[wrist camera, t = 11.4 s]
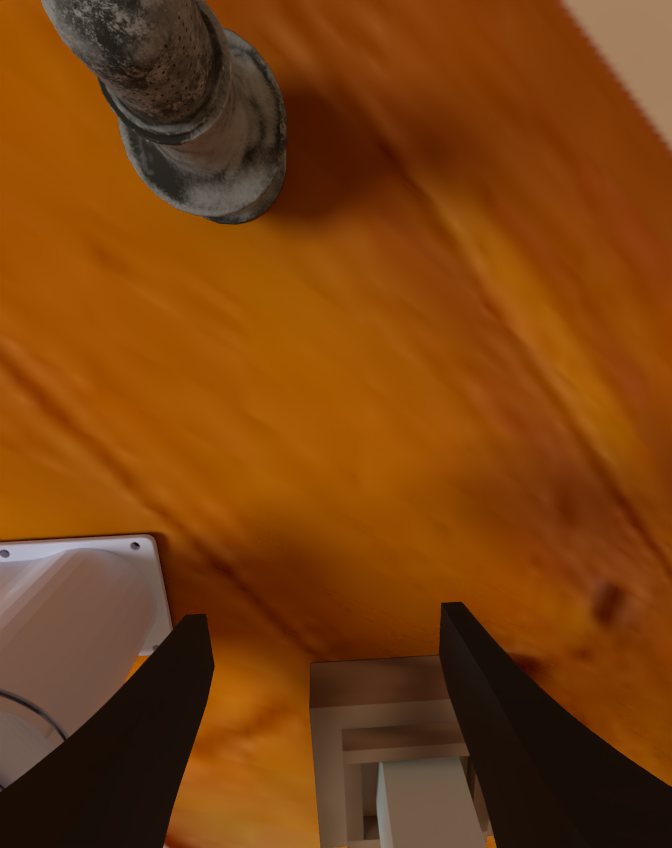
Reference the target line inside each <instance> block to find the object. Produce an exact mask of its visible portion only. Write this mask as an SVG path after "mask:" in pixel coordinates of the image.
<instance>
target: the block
mask: <svg viewBox="0 0 672 848" xmlns="http://www.w3.org/2000/svg"><path fill="white" fill-rule="evenodd" d="M376 808H377V817H378V826H379V835H380V845H381V848H487V847H486V844H485V841H484V837H483V834H482V831H481V828H480V824H479V821H478V818H477V814H476V811H475V808H474V804H473V801H472V798H471V794H470V791H469V788H468V785H467V781H466V778H465V775H464V771H463V768H462V765H461V761H460V758H459V756H458V757H443V758H429V759H414V760H400V761H385V762H379V765H378V776H377V788H376Z"/></svg>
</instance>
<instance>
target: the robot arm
mask: <svg viewBox="0 0 672 848" xmlns="http://www.w3.org/2000/svg"><path fill="white" fill-rule="evenodd" d="M133 542H137V543H138V544H139V545H140V546H136V545H134V543H133ZM6 550H7V551H8V552H9V553H7V552H6ZM156 645H159V646H156ZM142 655H150V656H149V658H148V659H147V660H146V661H145V662H144V663H143V664H142V665H141V666H140V668H139V669H138V670H137V671H136V672H135V673H134V674H133V675H132V676H131V677H130V679H129V680H128V681H127V682H126V683H125V684H124V682H125V680H126V678H127V676H128V675H129V673H130V671H131V669H132V667H133V665H134V663H135V661H136V659H137V657H138V656H142ZM439 657H440V662H441V666H442V671H443V675H444V679H445V683H446V687H447V691H448V694H449V697H450V700H451V703H452V706H453V709H454V712H455V715H456V718H457V721H458V723H459V726H460V729H461V732H462V735H463V738H464V741H465V743H466V746H467V749H468V752H469V755H470V758H471V761H472V763H473V766H474V769H475V772H476V775H477V778H478V781H479V784H480V787H481V791H482V794H483V797H484V801H485V804H486V808H487V812H488V816H489V820H490V823H491V827H492V831H493V835H494V838H495V842H496V846H497V848H672V787H671V786H669V785H667V784H666V783H664V782H663V781H661V780H660V779H658V778H657V777H655V776H654V775H652V774H651V773H649V772H648V771H646V770H645V769H643V768H642V767H640V766H639V765H637V764H636V763H634V762H633V761H632V760H630V759H629V758H627V757H626V756H624V755H623V754H622V753H620V752H619V751H617V750H616V749H615V748H613V747H612V746H611V745H609V744H608V743H607V742H605V741H604V740H603V739H601V738H600V737H599V736H597V735H596V734H595V733H593V732H592V731H591V730H590V729H588V728H587V727H586V726H584V725H583V724H582V723H581V722H579V721H578V720H577V719H576V718H574V717H573V716H572V715H571V714H570V713H568V712H567V711H566V710H565V709H564V708H563V707H562V706H560V705H559V704H558V703H557V702H556V701H555V700H554V699H552V698H551V697H550V696H549V695H548V694H547V693H546V692H545V691H544V690H543V689H542V688H540V687H539V686H538V685H537V684H536V683H535V682H534V681H533V680H532V679H531V678H530V677H529V676H528V675H527V674H526V673H525V672H524V671H523V670H522V669H521V668H520V667H519V666H518V665H517V664H516V663H515V662H514V661H513V660H512V659H511V658H510V656H509V655H508V654H507V653H506V652H505V651H504V650H503V649H502V648H501V647H500V646H499V645H498V644H497V642H496V641H495V640H494V639H493V638H492V637H491V636H490V635H489V633H488V632H487V631H486V630H485V629H484V628H483V626H482V625H481V624H480V623H479V622H478V621H477V619H476V618H475V617H474V616H473V615H472V613H471V612H470V611H469V610H468V609H467V607H466V606H465V605H464V604H463V603H462V602H449V603H441V622H440V646H439ZM214 667H215V666H214V660H213V654H212V648H211V642H210V636H209V630H208V624H207V618H206V614H194V615H185V616H184V617H183V618H182V620H181V621H180V622H179V623H178V624H177V625H176V626H175V628H174V629H173V627H172V622H171V617H170V612H169V606H168V601H167V596H166V591H165V586H164V581H163V576H162V570H161V565H160V560H159V555H158V550H157V545H156V541H155V539H154V538H153V537H152V536H151V535H147V534H141V535H123V536H106V537H88V538H70V539H52V540H34V541H16V542H0V848H163V845H164V841H165V837H166V833H167V829H168V825H169V821H170V816H171V813H172V809H173V806H174V802H175V799H176V796H177V792H178V789H179V786H180V783H181V780H182V777H183V774H184V771H185V768H186V765H187V762H188V759H189V756H190V753H191V750H192V747H193V744H194V741H195V738H196V735H197V732H198V729H199V726H200V723H201V719H202V716H203V713H204V710H205V707H206V704H207V700H208V695H209V691H210V686H211V681H212V676H213V671H214ZM123 684H124V685H123Z"/></svg>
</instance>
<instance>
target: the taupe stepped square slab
mask: <svg viewBox="0 0 672 848" xmlns="http://www.w3.org/2000/svg"><path fill="white" fill-rule="evenodd" d="M309 711H310V723H311V735H312V748H313V760H314V772H315V785H316V797H317V810H318V822H319V834H320V847H321V848H332V847H345V846H348V848H381V845H380V835H379V826H378V817H377V808H376V788H377V776H378V765H379V762H385V761H400V760H414V759H429V758H443V757H458V756H459V758H460V761H461V765H462V768H463V771H464V775H465V778H466V781H467V785H468V788H469V791H470V794H471V798H472V801H473V804H474V808H475V811H476V814H477V818H478V821H479V824H480V828H481V831H482V834H483V837H484V841H485V842H486V841H487V836H494V835H493V831H492V827H491V823H490V820H489V816H488V812H487V808H486V804H485V801H484V797H483V794H482V791H481V787H480V784H479V781H478V778H477V775H476V772H475V769H474V766H473V763H472V761H471V758H470V755H469V752H468V749H467V746H466V743H465V741H464V738H463V735H462V732H461V729H460V726H459V723H458V721H457V718H456V715H455V712H454V709H453V706H452V703H451V700H450V697H449V694H448V691H447V687H446V683H445V679H444V675H443V671H442V666H441V662H440V657H439V655H434V656H419V657H403V658H387V659H371V660H356V661H340V662H324V663H311V666H310V702H309Z"/></svg>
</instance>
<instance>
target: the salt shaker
mask: <svg viewBox="0 0 672 848" xmlns="http://www.w3.org/2000/svg"><path fill="white" fill-rule="evenodd" d="M41 1H42V4H43V7H44V9H45V11H46V13H47V15H48V16H49V18H50V20H51V22H52V23H53V25H54V27H55V28H56V30H57V32H58V34H59V35H60V37H61V39H62V40H63V41H64V43H65V44H66V45H67V46H68V47H69V48H70V49H71V50H72V51H73V53H74V54H75V55H76V56H77V57H78V58H79V59H80V60H81V61H82V62H83V63H84V64H85V65H86V66H87V67H88V68H89V69H90V70H91V71H92V72H93V73H94V74H95V75H96V76H97V78H98V81H99V84H100V87H101V90H102V93H103V95H104V96H105V98H106V100H107V102H108V103H109V105H110V107H111V109H112V110H113V112H114V113H115V114H116V115H117V116H118V121H119V131H120V135H121V138H122V141H123V144H124V147H125V150H126V153H127V156H128V158H129V160H130V161H131V163H132V165H133V167H134V168H135V170H136V172H137V173H138V175H139V177H140V178H141V179H142V180H143V182H144V183H145V184H146V185H147V186H148V187H149V188H150V189H151V190H152V191H153V192H154V193H155V194H156V195H157V196H158V197H159V198H161V199H163V200H164V201H166V202H167V203H169V204H170V205H172V206H173V207H175V208H176V209H178V210H181V211H184V212H187V213H190V214H193V215H196V216H202V217H203V218H205V219H208V220H211V221H214V222H217V223H220V224H239V223H243V222H247V221H251V220H252V219H254V218H256V217H258V216H259V215H261V214H263V213H264V212H265V211H266V210H267V209H268V208H269V207H270V206H271V205H272V204H273V202H274V201H275V199H276V198H277V196H278V194H279V192H280V190H281V188H282V186H283V182H284V178H285V173H286V145H287V115H286V110H285V106H284V101H283V97H282V92H281V90H280V88H279V85H278V83H277V81H276V79H275V77H274V75H273V73H272V71H271V69H270V67H269V65H268V64H267V63H266V62H265V60H264V59H263V58H262V57H261V55H260V54H259V53H258V52H257V50H256V49H255V48H254V47H253V46H252V45H251V44H249V43H248V42H247V41H245V40H244V39H243V38H241V37H240V36H239V35H237V34H236V33H235V32H234V31H231V30H229V29H226V28H224V27H221V25H220V23H219V21H218V18H217V16H216V15H215V14H214V12H213V11H212V10H211V9H210V7H209V6H208V5H207V3H206V2H205V1H204V0H41Z"/></svg>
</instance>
